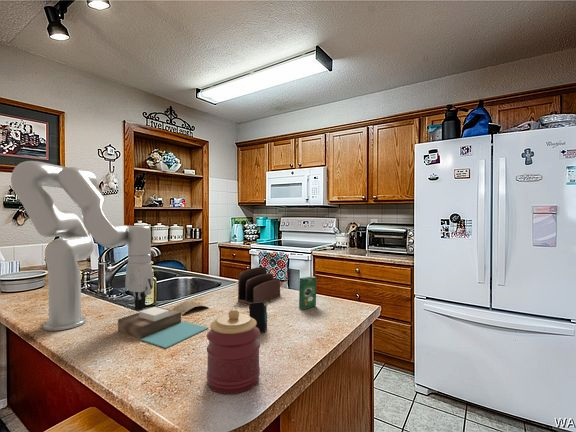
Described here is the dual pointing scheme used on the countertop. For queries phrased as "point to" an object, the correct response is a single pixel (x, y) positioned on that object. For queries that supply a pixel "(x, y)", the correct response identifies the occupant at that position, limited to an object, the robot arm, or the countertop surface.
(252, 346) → the canister
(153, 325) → the brown flat block
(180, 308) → the clay tablet
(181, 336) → the mat
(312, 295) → the coffee box
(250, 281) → the letter holder
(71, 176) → the robot arm
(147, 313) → the tile
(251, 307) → the speaker
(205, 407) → the countertop surface
